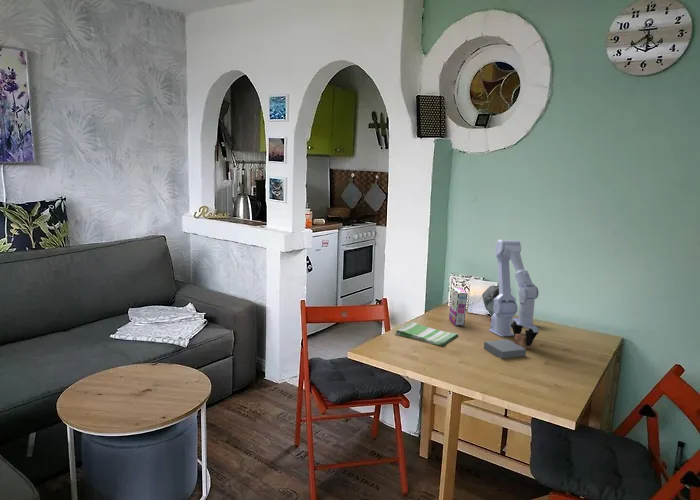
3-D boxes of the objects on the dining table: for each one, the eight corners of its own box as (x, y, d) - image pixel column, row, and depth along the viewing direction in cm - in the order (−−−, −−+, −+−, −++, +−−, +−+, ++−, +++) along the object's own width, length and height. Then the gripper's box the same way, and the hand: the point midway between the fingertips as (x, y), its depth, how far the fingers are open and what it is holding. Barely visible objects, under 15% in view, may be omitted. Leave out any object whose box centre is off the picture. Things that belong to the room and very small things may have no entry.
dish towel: (442, 348, 216) (442, 342, 215) (394, 335, 229) (394, 329, 228) (458, 337, 231) (458, 331, 230) (412, 326, 243) (412, 320, 243)
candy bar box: (465, 326, 246) (468, 293, 243) (454, 325, 245) (457, 293, 242) (458, 319, 257) (461, 287, 254) (448, 318, 256) (451, 287, 253)
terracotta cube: (513, 344, 223) (515, 333, 222) (523, 343, 225) (524, 333, 224) (521, 348, 219) (522, 337, 218) (530, 347, 220) (532, 336, 220)
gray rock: (473, 318, 258) (476, 284, 255) (486, 312, 270) (489, 280, 267) (499, 325, 249) (503, 290, 246) (512, 319, 261) (516, 285, 258)
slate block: (483, 348, 216) (484, 341, 216) (506, 345, 221) (507, 339, 220) (501, 358, 206) (502, 351, 205) (525, 355, 210) (526, 349, 210)
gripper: (507, 308, 224) (504, 338, 227) (530, 318, 211) (526, 349, 213) (520, 307, 227) (517, 336, 229) (543, 317, 214) (540, 348, 216)
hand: (522, 342), depth 222 cm, fingers open, 7 cm apart
